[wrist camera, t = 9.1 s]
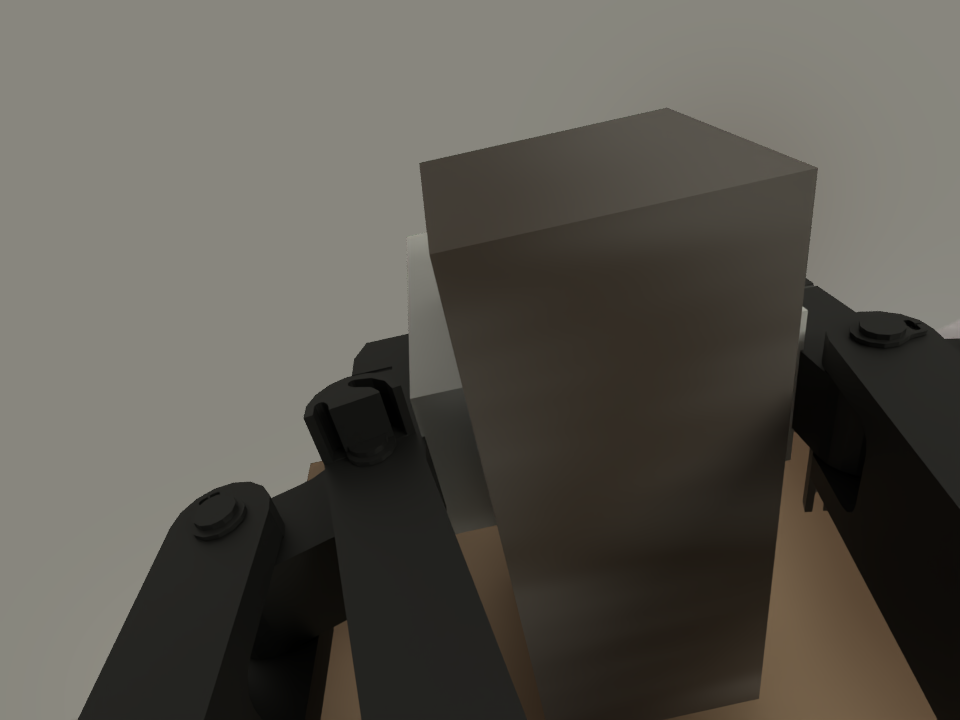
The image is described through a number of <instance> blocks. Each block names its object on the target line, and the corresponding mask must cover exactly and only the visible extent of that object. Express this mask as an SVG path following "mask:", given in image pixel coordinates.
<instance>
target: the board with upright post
mask: <svg viewBox="0 0 960 720" xmlns="http://www.w3.org/2000/svg"><path fill="white" fill-rule="evenodd" d="M817 170H818V168H816V167H814V166H812V165H809V164H807V163H804V162H802V161H799V160H797V159H794V158H791V157H789V156H787V155H784V154H781V153H779V152H777V151H774V150H771V149H769V148H766V147H764V146H762V145H759V144H756V143H754V142H751V141H749V140H746V139H744V138H741V137H739V136H736V135H734V134H731V133H729V132H726V131H724V130H721V129H719V128H716V127H714V126H711V125H709V124H706V123H704V122H701V121H699V120H696V119H694V118H691V117H689V116H686V115H684V114H681V113H679V112H676V111H674V110H671V109H669V108H664V109H659V110H655V111H651V112H646V113H641V114H637V115H632V116H628V117H624V118H619V119H614V120H610V121H606V122H601V123H597V124H592V125H588V126H583V127H579V128H574V129H570V130H565V131H561V132H557V133H552V134H547V135H543V136H539V137H534V138H529V139H525V140H520V141H516V142H511V143H507V144H503V145H499V146H494V147H489V148H485V149H480V150H476V151H471V152H467V153H462V154H458V155H454V156H449V157H444V158H440V159H436V160H431V161H426V162H422V163H420V173H421V182H422V191H423V201H424V210H425V219H426V228H427V238H428V247H429V255H430V259H431V263H432V267H433V271H434V275H435V279H436V283H437V287H438V291H439V295H440V299H441V303H442V307H443V311H444V315H445V319H446V323H447V327H448V331H449V335H450V339H451V343H452V347H453V351H454V355H455V359H456V363H457V367H458V371H459V375H460V379H461V383H462V387H463V391H464V395H465V399H466V403H467V407H468V411H469V415H470V419H471V423H472V427H473V431H474V435H475V439H476V443H477V447H478V451H479V455H480V459H481V463H482V467H483V471H484V475H485V479H486V483H487V487H488V491H489V495H490V499H491V503H492V507H493V511H494V515H495V519H496V523H497V525H495V526H490V527H486V528H481V529H477V530H472V531H468V532H463V533H459V534H455V535H456V537H457V540H458V543H459V545H460V548H461V550H462V553H463V555H464V558H465V561H466V563H467V566H468V568H469V571H470V574H471V576H472V579H473V581H474V584H475V586H476V589H477V592H478V594H479V597H480V599H481V602H482V604H483V607H484V610H485V612H486V615H487V617H488V620H489V623H490V625H491V628H492V630H493V633H494V635H495V638H496V641H497V643H498V646H499V648H500V651H501V654H502V656H503V659H504V661H505V664H506V666H507V669H508V672H509V674H510V677H511V679H512V682H513V684H514V687H515V690H516V692H517V695H518V697H519V700H520V703H521V705H522V708H523V710H524V713H525V715H526V718H527V720H937V718H936V716H935V714H934V712H933V710H932V708H931V707H930V705H929V703H928V701H927V699H926V697H925V695H924V693H923V691H922V689H921V688H920V686H919V684H918V682H917V680H916V678H915V676H914V674H913V672H912V670H911V669H910V667H909V665H908V663H907V661H906V659H905V657H904V655H903V653H902V651H901V650H900V648H899V646H898V644H897V642H896V640H895V638H894V636H893V634H892V632H891V631H890V629H889V627H888V625H887V623H886V621H885V619H884V617H883V615H882V613H881V612H880V610H879V608H878V606H877V604H876V602H875V600H874V598H873V596H872V594H871V593H870V591H869V589H868V587H867V585H866V583H865V581H864V579H863V577H862V575H861V574H860V572H859V570H858V568H857V566H856V564H855V562H854V560H853V558H852V556H851V555H850V553H849V551H848V549H847V547H846V545H845V543H844V541H843V539H842V538H841V536H840V534H839V532H838V530H837V528H836V526H835V524H834V522H833V520H832V519H831V517H830V515H829V513H828V511H823V504H824V503H823V501H822V500H821V498H820V496H819V494H818V492H816V494H815V497H814V504H813V510H812V512H805V511H804V506H803V493H804V486H805V479H806V472H807V464H808V457H809V450H810V447H809V446H808V445H807V444H806V443H805V442H804V441H803V440H802V439H801V438H800V436H799V435H798V434H797V433H796V432H795V431H794V434H793V443H792V451H791V460H788V461H785V460H786V451H787V442H788V433H789V423H790V414H791V405H792V396H793V387H794V378H795V369H796V360H797V351H798V342H799V333H800V324H801V315H802V306H803V297H804V288H805V279H806V269H807V260H808V252H809V242H810V234H811V225H812V215H813V206H814V198H815V189H816V188H815V187H816V180H817ZM323 470H325V467H324V464H323V461H320V462H315V463H311V465H310V470H309V474H308V480H307V481H309V480H310V479H312V478H314V477H315V476H317V475H318V474H319V473H321V472H322V471H323ZM321 720H361V714H360V707H359V700H358V693H357V686H356V679H355V673H354V666H353V659H352V652H351V645H350V638H349V632H348V625H347V620H346V621H344V622H342V623H340V624H339V625H337V626H335V627H334V632H333V639H332V646H331V653H330V660H329V666H328V673H327V680H326V687H325V694H324V701H323V707H322V714H321Z"/></svg>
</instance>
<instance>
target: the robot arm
mask: <svg viewBox="0 0 960 720" xmlns="http://www.w3.org/2000/svg"><path fill="white" fill-rule="evenodd" d="M407 274H408V275H407V276H408V321H409V322H408V325H409V334H406V335H401V336H396V337H392V338H388V339H383V340H379V341H374V342H370V343H366V345H365V346H364V347H363V348H362V350H361V351H360V352H359V354H358V355H357V356H356V358H355V359H354V365H353V372H352V376H351V377H347V378H344V379H342V380H340V381H337V382H335V383H333V384H331V385H329V386H328V387H326V388H325V389H323V390H322V391H321V392H319V393H318V394H316V395H315V396H314V398H313V399H312V400H311V401H310V403H309V404H308V405H307V406H306V410H305V414H304V420H305V422H306V425H307V427H308V429H309V431H310V434H311V436H312V438H313V441H314V443H315V445H316V448H317V450H318V452H319V454H320V457H321V459H322V461H323V464H324V467H325V470H323V471H322V472H321V473H319V474H318V475H317V476H315V477H314V478H312V479H310V480H309V481H307V482H305V483H303V484H301V485H299V486H297V487H295V488H293V489H290V490H288V491H286V492H284V493H282V494H279V495H277V496H275V497H273V498H271V497H270V495H269V494H268V492H267V491H266V490H265V488H264V487H263V486H261V485H258V484H255V483H252V482H239V483H231V484H228V485H225V486H222V487H219V488H216V489H214V490H212V491H210V492H208V493H207V494H204V495H203V496H201V497H200V498H198V499H196V500H195V501H194V502H193V503H192V504H190V505H189V506H188V507H187V508H186V509H185V510H184V511H182V512H181V513H180V515H179V516H178V518H177V519H176V520H175V522H174V523H173V525H172V526H171V528H170V529H169V532H168V534H167V536H166V538H165V540H164V542H163V544H162V546H161V548H160V550H159V552H158V554H157V556H156V559H155V561H154V563H153V565H152V567H151V569H150V571H149V573H148V575H147V577H146V579H145V581H144V583H143V586H142V588H141V590H140V592H139V594H138V596H137V598H136V600H135V602H134V604H133V606H132V608H131V610H130V612H129V614H128V617H127V619H126V621H125V623H124V625H123V627H122V629H121V631H120V633H119V635H118V637H117V639H116V642H115V643H114V646H113V648H112V650H111V652H110V654H109V656H108V658H107V660H106V663H105V664H104V666H103V668H102V670H101V673H100V675H99V677H98V679H97V681H96V683H95V685H94V687H93V689H92V691H91V693H90V695H89V697H88V700H87V701H86V704H85V706H84V708H83V710H82V712H81V714H80V716H79V718H78V720H321V714H322V707H323V701H324V694H325V687H326V680H327V673H328V666H329V660H330V653H331V646H332V639H333V632H334V627H335V626H337V625H339V624H340V623H342V622H344V621H346V620H347V625H348V632H349V638H350V645H351V652H352V659H353V666H354V673H355V679H356V686H357V693H358V700H359V707H360V714H361V720H527V718H526V715H525V713H524V710H523V708H522V705H521V703H520V700H519V697H518V695H517V692H516V690H515V687H514V684H513V682H512V679H511V677H510V674H509V672H508V669H507V666H506V664H505V661H504V659H503V656H502V654H501V651H500V648H499V646H498V643H497V641H496V638H495V635H494V633H493V630H492V628H491V625H490V623H489V620H488V617H487V615H486V612H485V610H484V607H483V604H482V602H481V599H480V597H479V594H478V592H477V589H476V586H475V584H474V581H473V579H472V576H471V574H470V571H469V568H468V566H467V563H466V561H465V558H464V555H463V553H462V550H461V548H460V545H459V543H458V540H457V537H456V535H455V534H459V533H463V532H468V531H472V530H477V529H481V528H486V527H490V526H495V525H497V523H496V519H495V515H494V511H493V507H492V503H491V499H490V495H489V491H488V487H487V483H486V479H485V475H484V471H483V467H482V463H481V459H480V455H479V451H478V447H477V443H476V439H475V435H474V431H473V427H472V423H471V419H470V415H469V411H468V407H467V403H466V399H465V395H464V391H463V387H462V383H461V379H460V375H459V371H458V367H457V363H456V359H455V355H454V351H453V347H452V343H451V339H450V335H449V331H448V327H447V323H446V319H445V315H444V311H443V307H442V303H441V299H440V295H439V291H438V287H437V283H436V279H435V275H434V271H433V267H432V263H431V259H430V255H429V247H428V238H427V232H426V233H421V234H416V235H412V236H407ZM794 431H795V432H796V433H797V434H798V435H799V436H800V438H801V439H802V440H803V441H804V442H805V443H806V444H807V445H808V446H809V447H810V450H809V457H808V464H807V472H806V479H805V486H804V493H803V506H804V511H805V512H812V510H813V504H814V497H815V494H816V492H818V494H819V496H820V498H821V500H822V501H823V503H824V504H823V511H828V513H829V515H830V517H831V519H832V520H833V522H834V524H835V526H836V528H837V530H838V532H839V534H840V536H841V538H842V539H843V541H844V543H845V545H846V547H847V549H848V551H849V553H850V555H851V556H852V558H853V560H854V562H855V564H856V566H857V568H858V570H859V572H860V574H861V575H862V577H863V579H864V581H865V583H866V585H867V587H868V589H869V591H870V593H871V594H872V596H873V598H874V600H875V602H876V604H877V606H878V608H879V610H880V612H881V613H882V615H883V617H884V619H885V621H886V623H887V625H888V627H889V629H890V631H891V632H892V634H893V636H894V638H895V640H896V642H897V644H898V646H899V648H900V650H901V651H902V653H903V655H904V657H905V659H906V661H907V663H908V665H909V667H910V669H911V670H912V672H913V674H914V676H915V678H916V680H917V682H918V684H919V686H920V688H921V689H922V691H923V693H924V695H925V697H926V699H927V701H928V703H929V705H930V707H931V708H932V710H933V712H934V714H935V716H936V718H937V720H960V339H944V338H943V337H942V336H941V335H940V334H939V333H938V332H936V331H935V330H934V329H933V328H931V327H930V326H928V325H927V324H925V323H923V322H922V321H920V320H917V319H914V318H911V317H908V316H904V315H902V314H896V313H888V312H881V311H873V312H854V311H853V310H852V309H850V308H848V307H847V306H846V305H844V304H843V303H841V302H840V301H838V300H837V299H836V298H834V297H833V296H831V295H830V294H828V293H827V292H825V291H823V290H822V289H821V288H819V287H818V286H814V285H813V283H812V282H811V281H809V280H808V279H805V288H804V297H803V306H802V315H801V324H800V333H799V342H798V351H797V360H796V369H795V378H794V387H793V396H792V405H791V414H790V423H789V433H788V442H787V451H786V460H785V461H788V460H791V451H792V443H793V434H794Z"/></svg>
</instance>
